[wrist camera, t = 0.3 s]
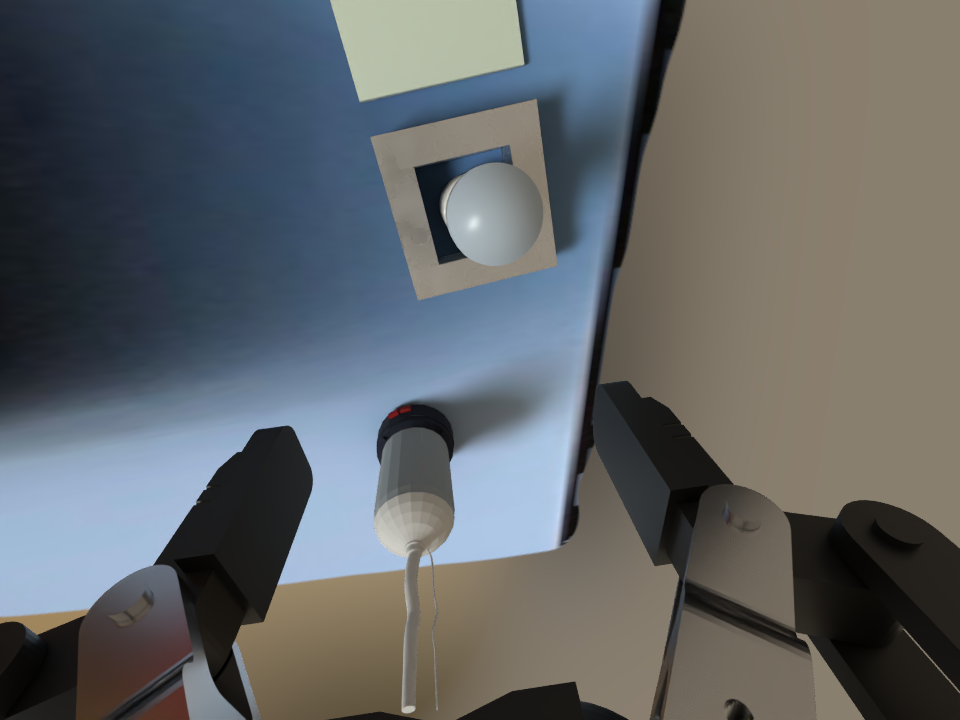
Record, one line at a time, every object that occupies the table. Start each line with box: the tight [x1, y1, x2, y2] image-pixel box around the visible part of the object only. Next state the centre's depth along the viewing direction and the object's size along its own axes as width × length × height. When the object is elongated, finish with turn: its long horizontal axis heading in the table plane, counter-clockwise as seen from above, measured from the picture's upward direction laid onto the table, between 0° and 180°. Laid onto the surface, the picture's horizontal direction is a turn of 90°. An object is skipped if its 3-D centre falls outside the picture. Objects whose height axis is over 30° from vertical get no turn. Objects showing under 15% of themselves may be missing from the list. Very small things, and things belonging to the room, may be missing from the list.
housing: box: [371, 99, 557, 300], centre depth 33 cm, size 12×12×4 cm
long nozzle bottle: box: [374, 405, 455, 713], centre depth 32 cm, size 8×8×25 cm
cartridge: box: [439, 162, 543, 266], centre depth 28 cm, size 5×5×14 cm
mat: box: [330, 0, 524, 103], centre depth 28 cm, size 9×13×1 cm
